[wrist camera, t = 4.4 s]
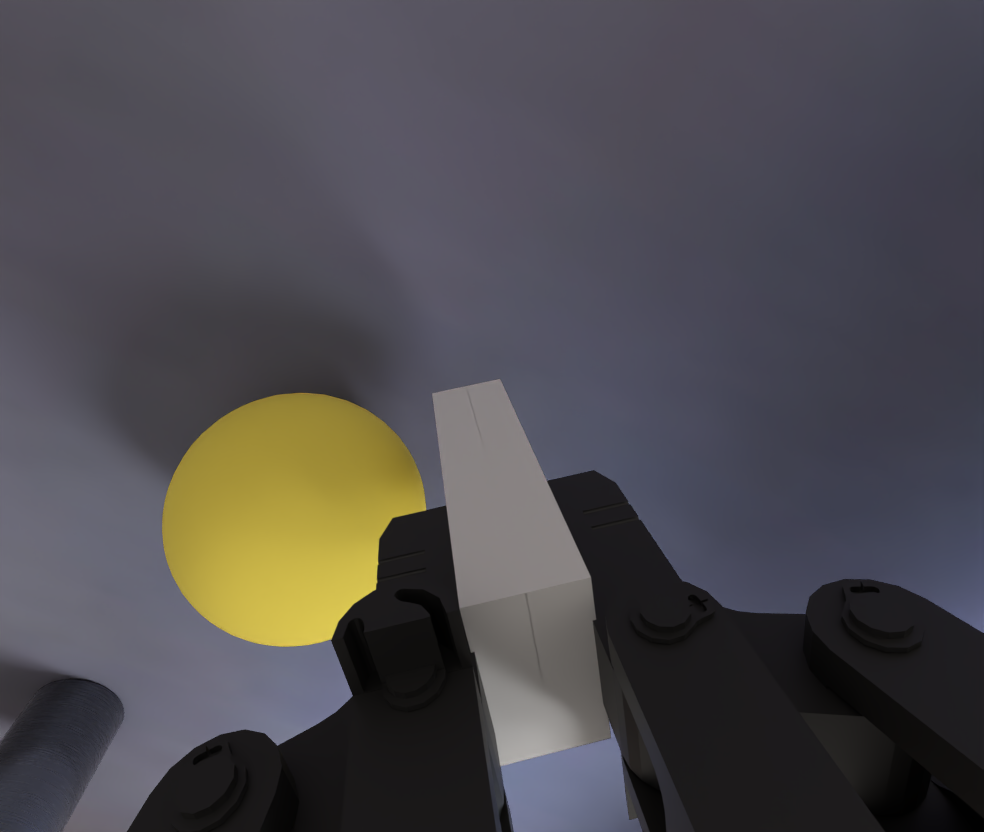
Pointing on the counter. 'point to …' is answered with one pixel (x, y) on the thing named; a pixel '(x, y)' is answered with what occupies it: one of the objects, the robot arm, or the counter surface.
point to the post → (54, 754)
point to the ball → (286, 515)
